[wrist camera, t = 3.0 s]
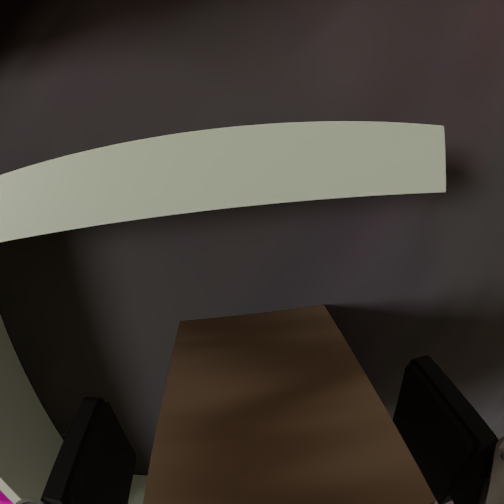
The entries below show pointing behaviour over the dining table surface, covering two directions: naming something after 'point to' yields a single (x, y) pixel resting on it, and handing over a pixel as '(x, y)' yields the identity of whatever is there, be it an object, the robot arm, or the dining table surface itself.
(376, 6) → the dining table surface
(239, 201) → the u-shaped bracket
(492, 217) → the dining table surface
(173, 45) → the dining table surface
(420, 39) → the dining table surface
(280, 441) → the block
